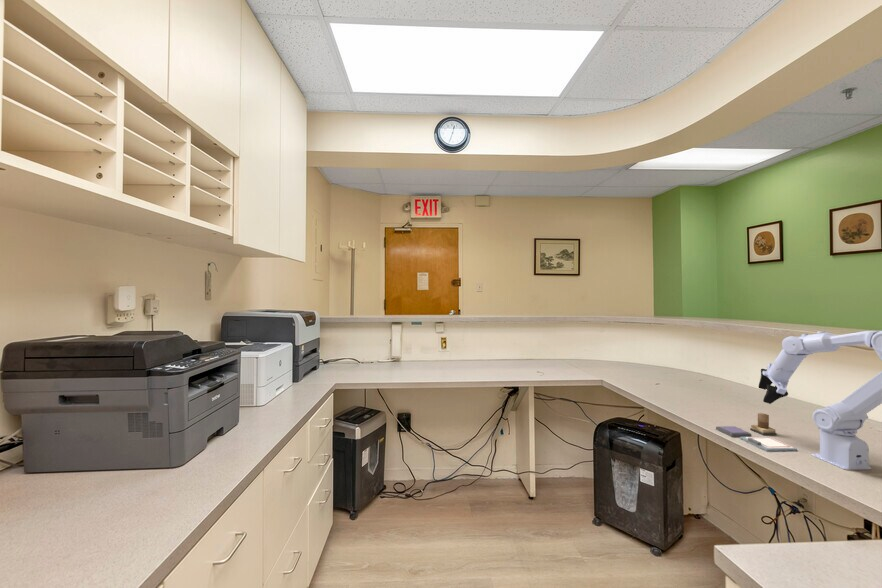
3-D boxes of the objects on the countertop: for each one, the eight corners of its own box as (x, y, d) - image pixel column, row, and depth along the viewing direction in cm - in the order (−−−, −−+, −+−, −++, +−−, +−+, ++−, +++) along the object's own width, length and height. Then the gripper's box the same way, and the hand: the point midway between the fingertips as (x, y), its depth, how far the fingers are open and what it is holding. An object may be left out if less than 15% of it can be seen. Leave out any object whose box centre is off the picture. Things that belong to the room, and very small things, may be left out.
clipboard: (797, 450, 116) (797, 446, 116) (766, 451, 116) (766, 446, 116) (768, 438, 126) (768, 434, 126) (739, 438, 126) (739, 434, 126)
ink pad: (751, 436, 127) (751, 433, 127) (731, 436, 127) (731, 433, 127) (734, 429, 134) (734, 425, 134) (716, 429, 134) (716, 426, 134)
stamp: (776, 435, 129) (776, 416, 128) (762, 435, 128) (762, 417, 128) (763, 430, 134) (763, 412, 134) (750, 430, 133) (750, 412, 133)
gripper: (764, 350, 131) (746, 378, 138) (775, 375, 120) (755, 404, 127) (789, 357, 129) (769, 385, 136) (802, 383, 117) (780, 412, 124)
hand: (764, 395), depth 131 cm, fingers open, 7 cm apart
